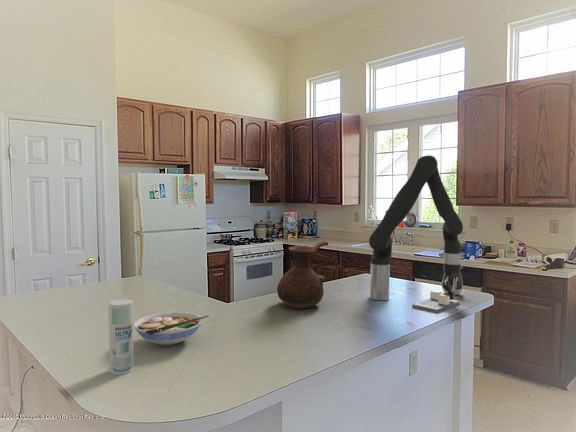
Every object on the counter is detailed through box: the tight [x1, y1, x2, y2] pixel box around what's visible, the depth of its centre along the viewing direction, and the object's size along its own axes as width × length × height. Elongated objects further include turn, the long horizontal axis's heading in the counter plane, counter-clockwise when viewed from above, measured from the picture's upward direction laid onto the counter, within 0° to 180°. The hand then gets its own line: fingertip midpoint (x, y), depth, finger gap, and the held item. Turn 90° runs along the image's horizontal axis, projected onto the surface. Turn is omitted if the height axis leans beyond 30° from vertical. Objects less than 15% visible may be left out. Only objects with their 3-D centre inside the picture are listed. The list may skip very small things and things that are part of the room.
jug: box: [276, 239, 329, 310], centre depth 194 cm, size 22×22×30 cm
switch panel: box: [411, 297, 461, 314], centre depth 196 cm, size 22×12×2 cm, turn 133°
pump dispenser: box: [441, 266, 464, 296], centre depth 218 cm, size 10×10×15 cm
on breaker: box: [429, 289, 442, 300], centre depth 202 cm, size 3×4×4 cm
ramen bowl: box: [133, 311, 210, 347], centre depth 146 cm, size 25×23×8 cm
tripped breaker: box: [438, 293, 450, 305], centre depth 193 cm, size 3×4×4 cm
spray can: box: [107, 299, 134, 376], centre depth 122 cm, size 6×6×20 cm
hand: (450, 299), depth 198 cm, fingers closed
